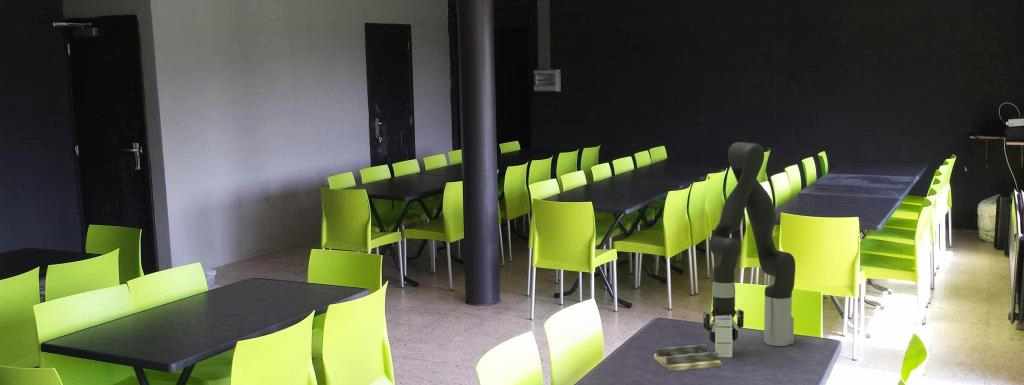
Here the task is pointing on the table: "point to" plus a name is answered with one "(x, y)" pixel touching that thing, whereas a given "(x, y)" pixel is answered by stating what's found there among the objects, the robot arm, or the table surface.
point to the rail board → (687, 357)
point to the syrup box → (723, 335)
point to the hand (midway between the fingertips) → (723, 340)
